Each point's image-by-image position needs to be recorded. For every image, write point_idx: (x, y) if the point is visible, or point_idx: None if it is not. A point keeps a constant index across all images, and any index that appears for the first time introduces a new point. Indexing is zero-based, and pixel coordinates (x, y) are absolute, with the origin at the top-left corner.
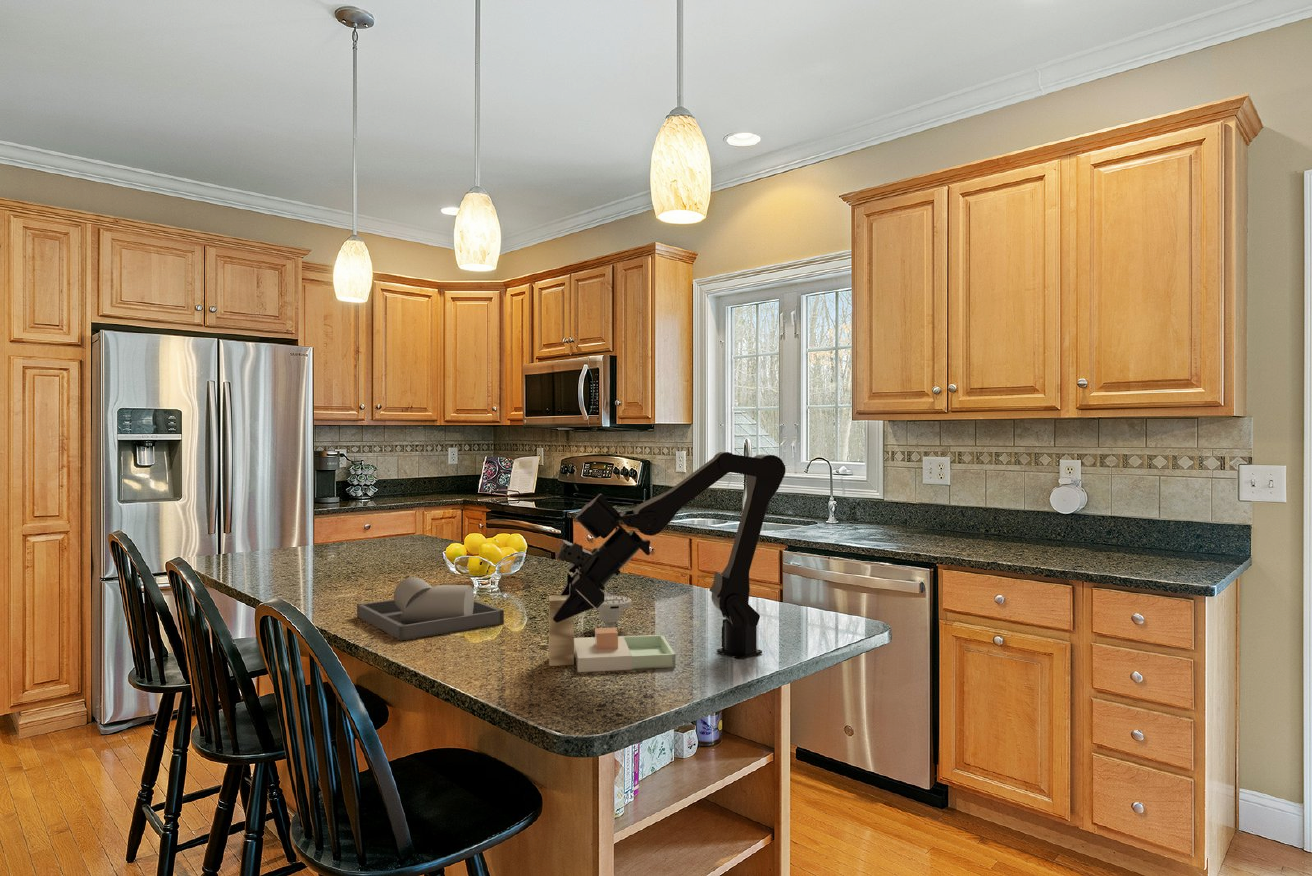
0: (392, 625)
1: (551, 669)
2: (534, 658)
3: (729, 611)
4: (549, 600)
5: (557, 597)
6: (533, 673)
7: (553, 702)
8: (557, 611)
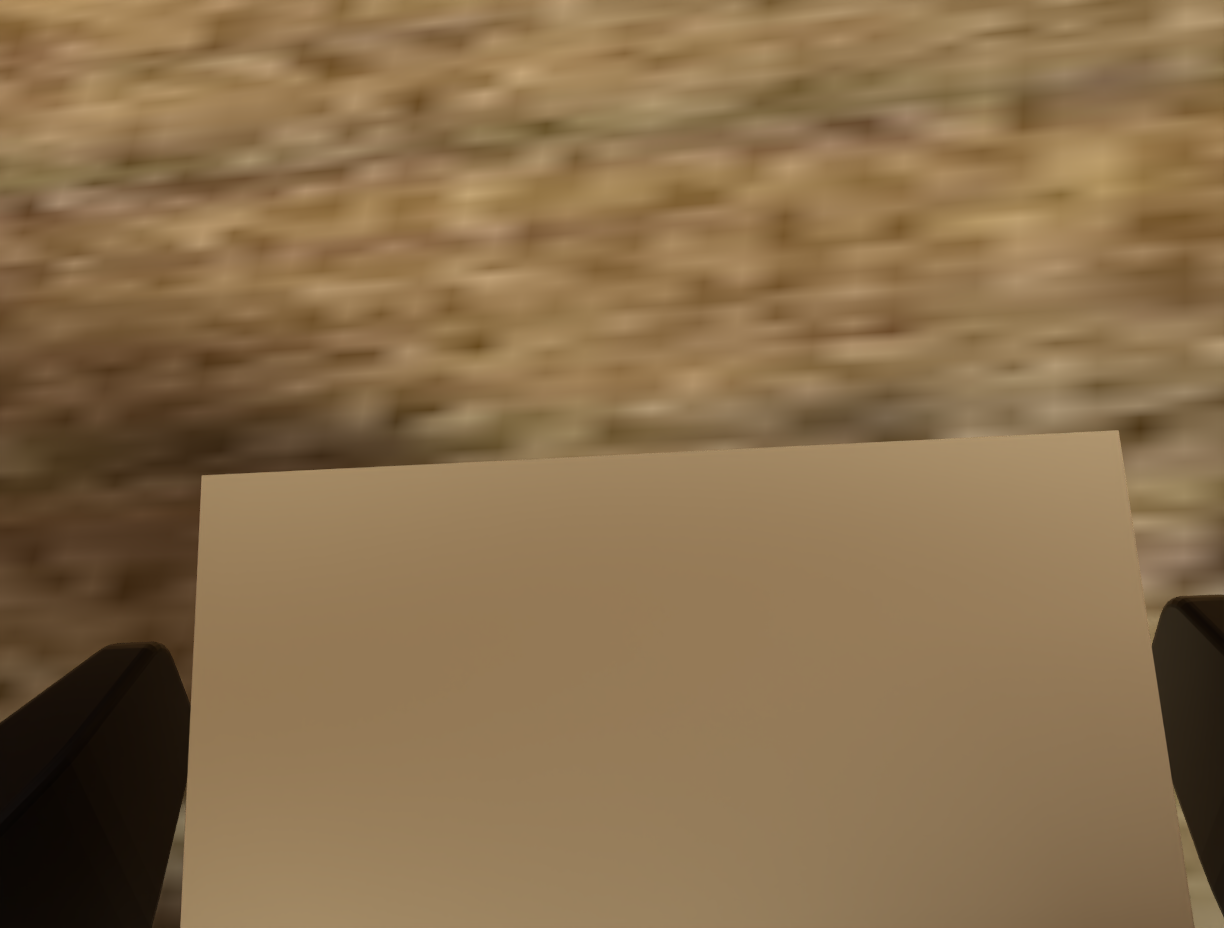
0: None
1: None
2: None
3: None
4: (251, 477)
5: (777, 783)
6: (275, 467)
7: None
8: (16, 766)
